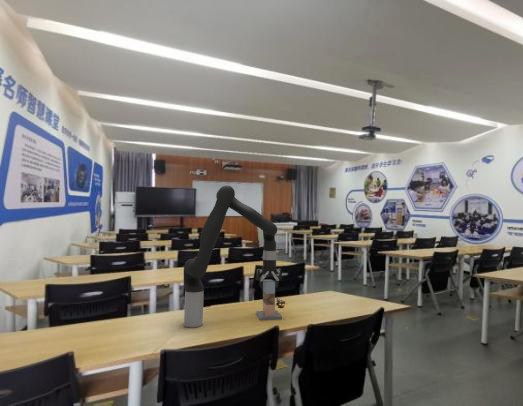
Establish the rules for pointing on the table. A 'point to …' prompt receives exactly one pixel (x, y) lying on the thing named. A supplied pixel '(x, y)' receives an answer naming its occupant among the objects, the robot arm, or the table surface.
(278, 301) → the toy set
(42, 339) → the table surface
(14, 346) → the table surface
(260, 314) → the baseplate
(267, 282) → the brick slate
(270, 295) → the brick walnut
